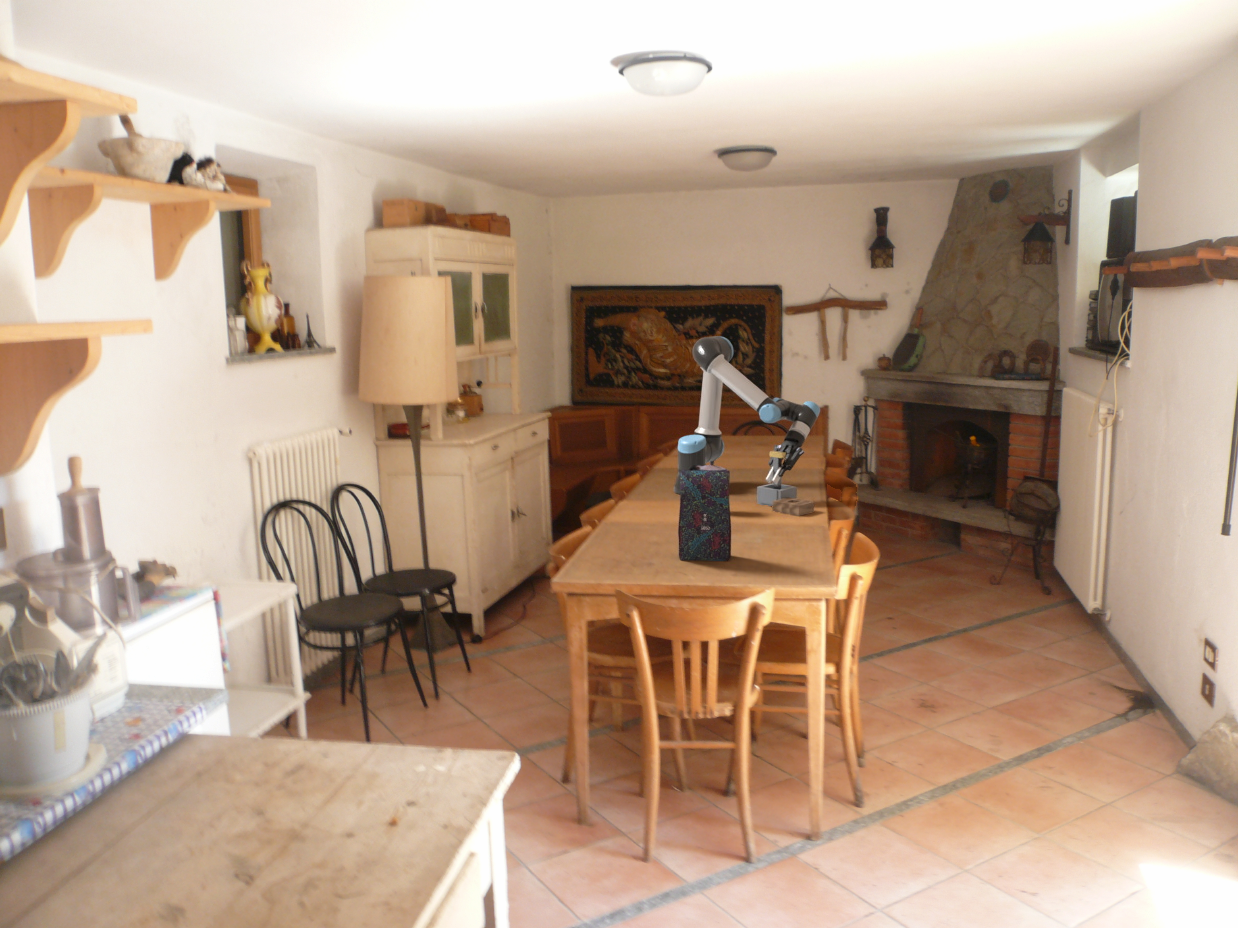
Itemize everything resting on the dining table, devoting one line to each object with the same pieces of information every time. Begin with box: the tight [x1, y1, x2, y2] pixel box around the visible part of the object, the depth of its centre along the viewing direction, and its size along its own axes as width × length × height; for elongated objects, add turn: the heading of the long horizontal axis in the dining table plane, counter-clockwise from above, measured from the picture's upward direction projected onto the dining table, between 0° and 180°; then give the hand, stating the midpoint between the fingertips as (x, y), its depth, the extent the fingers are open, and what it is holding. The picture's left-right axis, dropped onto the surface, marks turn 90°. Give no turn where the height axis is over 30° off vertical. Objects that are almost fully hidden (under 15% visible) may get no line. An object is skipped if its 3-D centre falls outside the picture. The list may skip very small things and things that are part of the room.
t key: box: [769, 450, 786, 490], centre depth 377 cm, size 6×2×18 cm, turn 45°
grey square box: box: [756, 482, 798, 507], centre depth 379 cm, size 11×11×7 cm
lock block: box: [772, 497, 815, 517], centre depth 366 cm, size 12×10×4 cm
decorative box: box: [677, 469, 732, 562], centre depth 301 cm, size 8×16×28 cm, turn 84°
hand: (771, 481), depth 375 cm, fingers closed on t key, 2 cm apart
